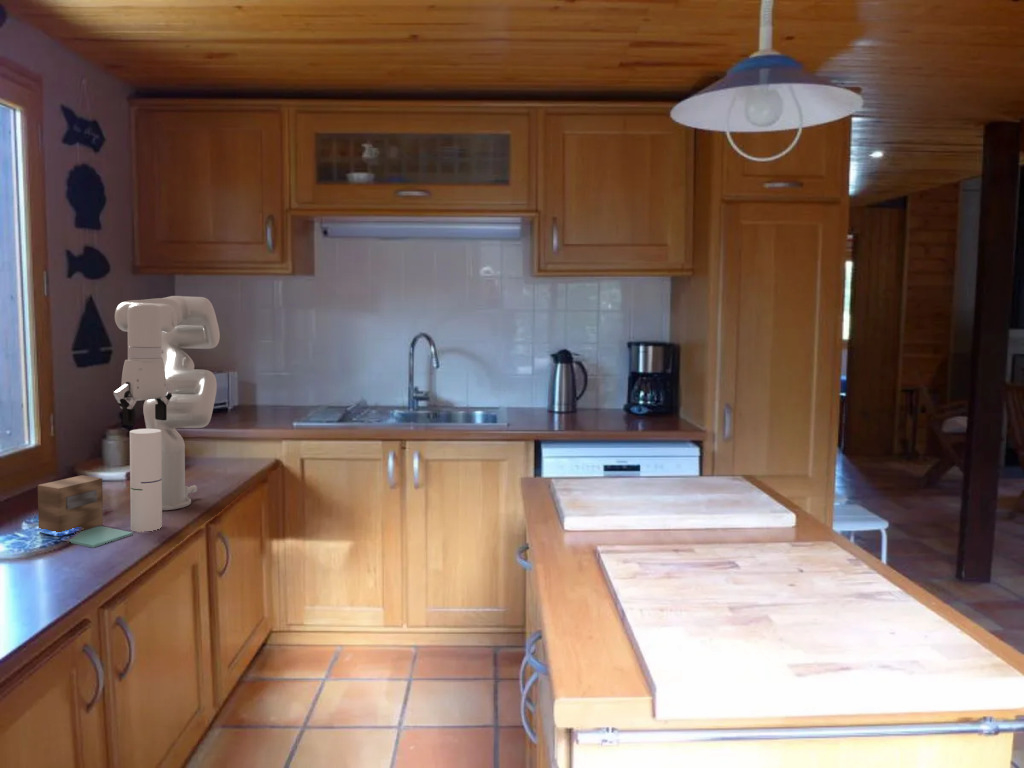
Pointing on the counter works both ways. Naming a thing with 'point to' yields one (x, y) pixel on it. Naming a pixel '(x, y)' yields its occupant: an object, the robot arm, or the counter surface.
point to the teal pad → (98, 536)
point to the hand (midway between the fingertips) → (145, 422)
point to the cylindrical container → (145, 479)
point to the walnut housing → (70, 503)
